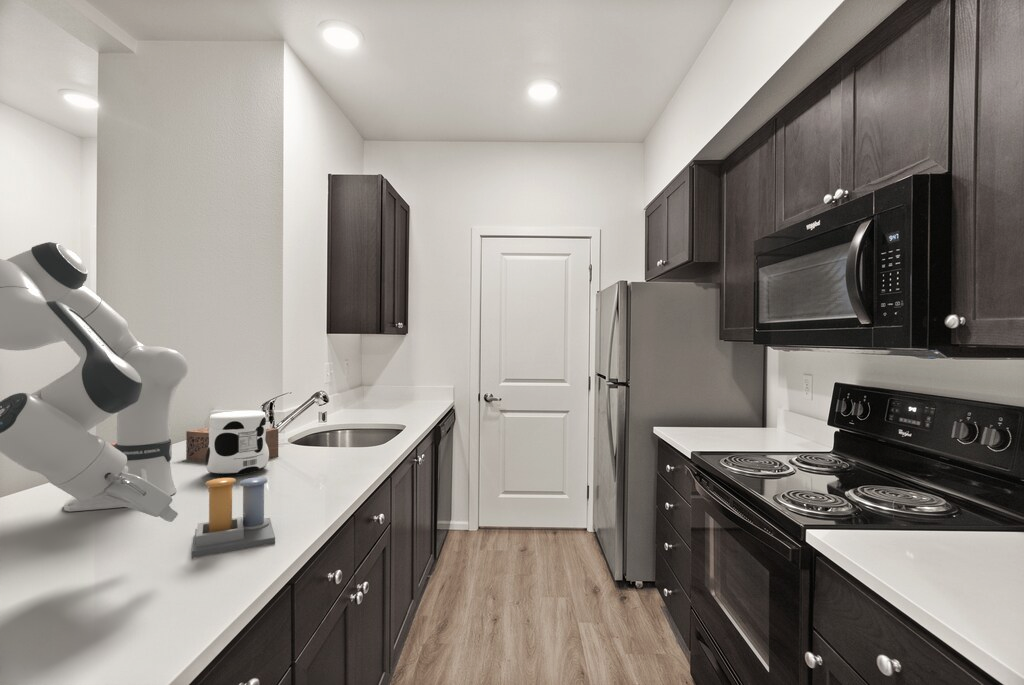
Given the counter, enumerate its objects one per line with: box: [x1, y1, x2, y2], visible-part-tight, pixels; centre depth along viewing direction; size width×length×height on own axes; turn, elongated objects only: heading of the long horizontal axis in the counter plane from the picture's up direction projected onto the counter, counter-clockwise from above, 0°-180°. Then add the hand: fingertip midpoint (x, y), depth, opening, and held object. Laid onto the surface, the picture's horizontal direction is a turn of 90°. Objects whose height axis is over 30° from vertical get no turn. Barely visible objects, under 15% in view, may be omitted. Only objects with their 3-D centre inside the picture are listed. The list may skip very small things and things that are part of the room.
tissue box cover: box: [185, 426, 279, 462], centre depth 175 cm, size 26×14×10 cm, turn 71°
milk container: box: [204, 410, 270, 477], centre depth 156 cm, size 17×17×18 cm
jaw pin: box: [205, 477, 237, 533], centre depth 101 cm, size 5×5×11 cm
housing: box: [191, 476, 276, 559], centre depth 103 cm, size 14×13×11 cm
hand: (159, 513), depth 92 cm, fingers open, 8 cm apart
